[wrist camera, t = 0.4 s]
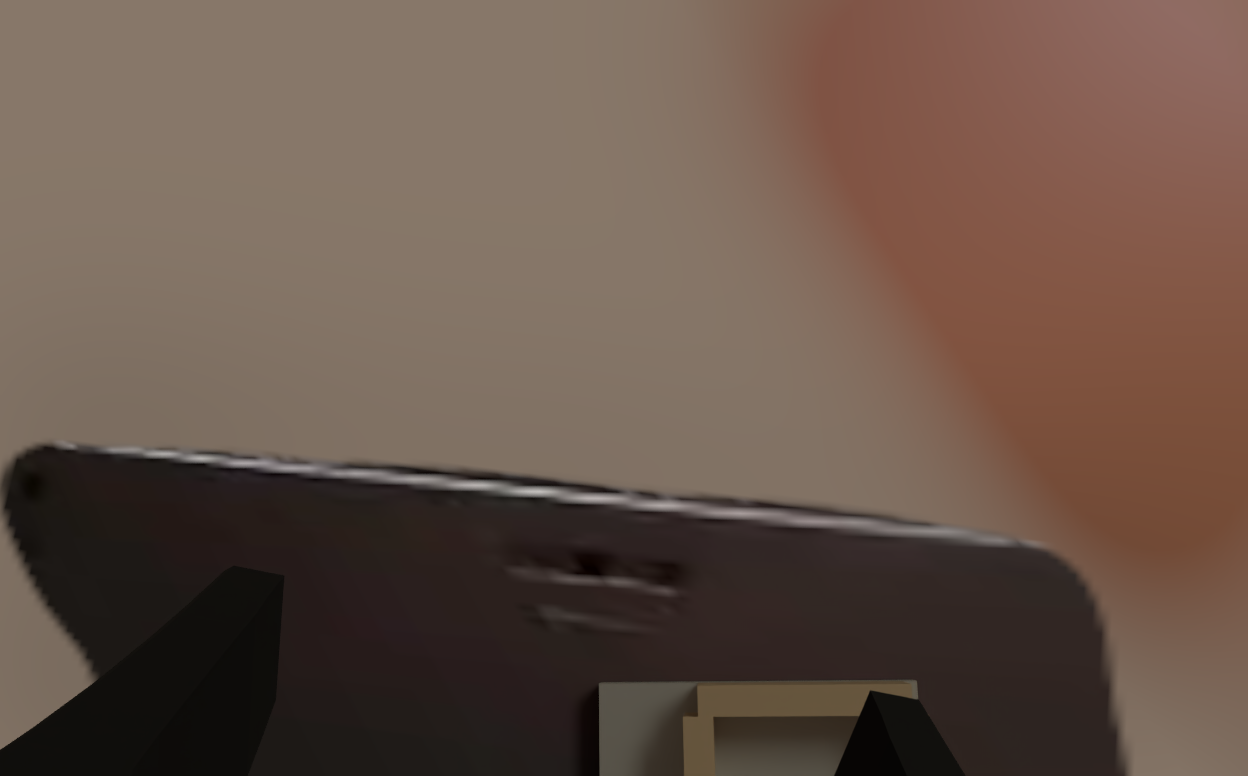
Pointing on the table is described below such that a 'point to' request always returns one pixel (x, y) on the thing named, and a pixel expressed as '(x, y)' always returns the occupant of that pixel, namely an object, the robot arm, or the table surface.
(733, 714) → the wooden compartment tray
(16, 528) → the table surface
